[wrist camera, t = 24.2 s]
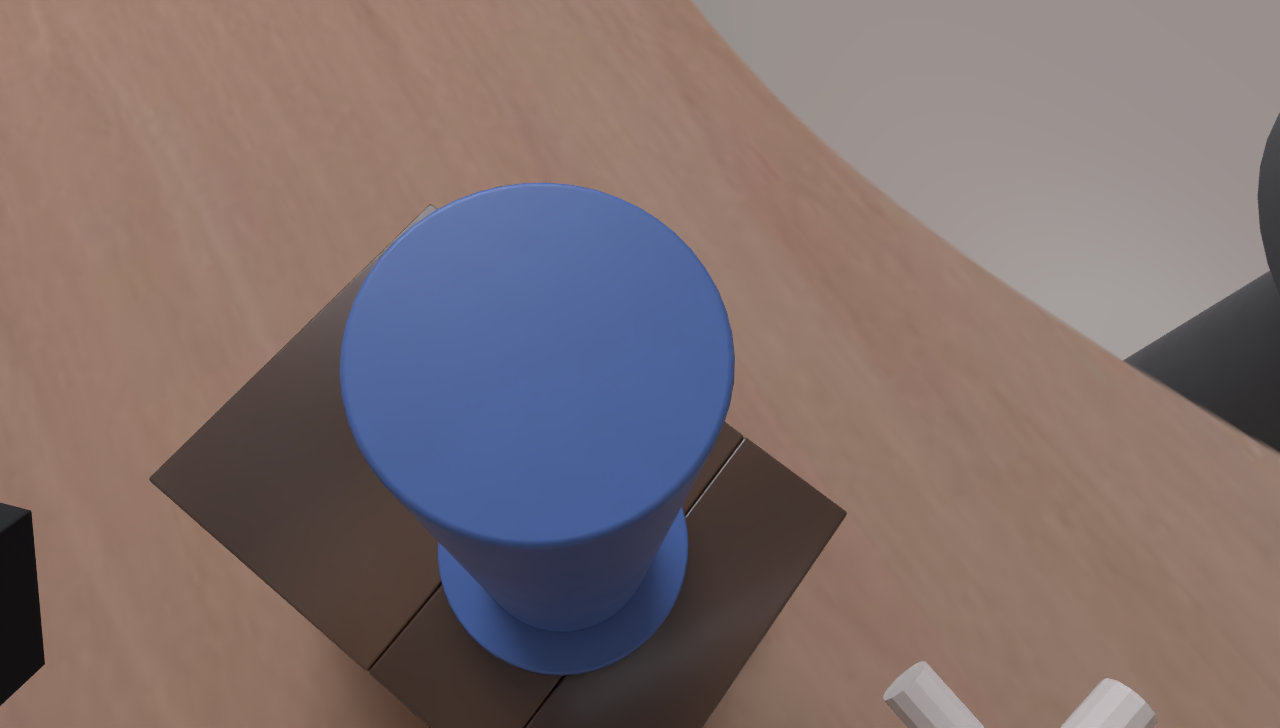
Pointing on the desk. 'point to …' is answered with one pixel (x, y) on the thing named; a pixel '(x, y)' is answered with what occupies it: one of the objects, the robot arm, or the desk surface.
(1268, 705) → the desk surface
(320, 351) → the stand
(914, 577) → the desk surface
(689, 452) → the peg
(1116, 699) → the white crossed rods piece
